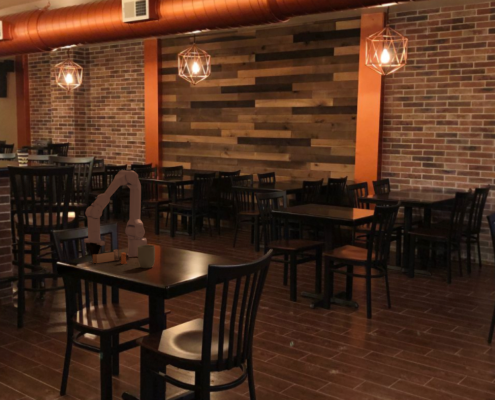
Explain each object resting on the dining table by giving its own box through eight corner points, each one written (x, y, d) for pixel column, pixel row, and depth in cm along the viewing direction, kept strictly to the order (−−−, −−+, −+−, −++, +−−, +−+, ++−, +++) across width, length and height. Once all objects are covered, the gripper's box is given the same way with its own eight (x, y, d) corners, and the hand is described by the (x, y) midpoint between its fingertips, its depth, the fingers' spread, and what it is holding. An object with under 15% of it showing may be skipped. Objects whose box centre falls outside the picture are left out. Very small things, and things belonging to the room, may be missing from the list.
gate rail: (112, 260, 291) (112, 251, 290) (114, 260, 289) (114, 252, 289) (92, 263, 283) (92, 254, 282) (94, 263, 281) (94, 255, 281)
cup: (158, 266, 274) (157, 245, 273) (150, 269, 266) (149, 247, 266) (143, 265, 276) (142, 244, 275) (134, 268, 269) (134, 247, 268)
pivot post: (118, 259, 293) (118, 249, 292) (119, 260, 290) (119, 250, 290) (112, 259, 292) (112, 249, 291) (113, 260, 289) (113, 250, 289)
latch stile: (125, 262, 284) (125, 252, 283) (127, 263, 281) (126, 253, 281) (120, 262, 283) (120, 252, 283) (121, 264, 280) (121, 253, 280)
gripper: (78, 230, 288) (79, 257, 289) (95, 233, 278) (96, 261, 279) (91, 228, 293) (92, 255, 294) (108, 231, 283) (108, 259, 284)
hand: (94, 258), depth 287 cm, fingers closed
